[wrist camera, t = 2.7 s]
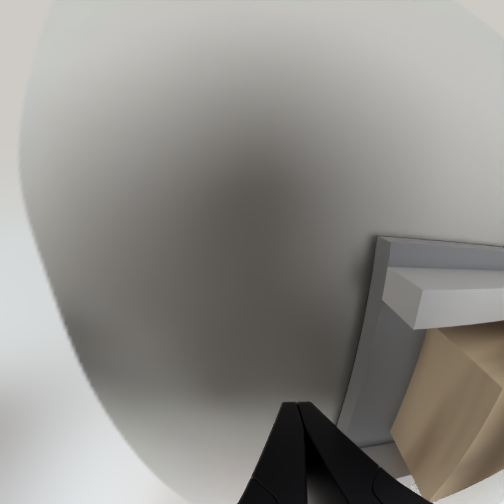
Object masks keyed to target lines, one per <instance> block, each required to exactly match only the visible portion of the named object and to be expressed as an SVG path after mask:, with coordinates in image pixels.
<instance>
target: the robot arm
mask: <svg viewBox="0 0 504 504" xmlns="http://www.w3.org/2000/svg"><path fill="white" fill-rule="evenodd" d="M237 504H433V503H431V502H429V501H428V500H426V499H424V498H423V497H421V496H420V495H418V494H416V493H415V492H413V491H412V490H410V489H409V488H407V487H406V486H404V485H403V484H401V483H400V482H399V481H398V480H396V479H395V478H394V477H392V476H391V475H390V474H389V473H388V472H386V471H385V470H384V469H383V468H382V467H379V465H378V464H377V463H376V462H375V461H374V460H372V459H371V458H370V457H369V456H368V455H367V454H366V453H365V452H364V451H362V450H361V449H360V448H359V447H358V446H357V445H356V444H355V443H354V442H353V441H351V440H350V439H349V438H348V437H347V436H346V435H345V434H344V433H343V432H342V431H341V430H340V429H338V428H337V427H336V426H335V425H334V424H333V423H332V422H331V421H330V420H329V419H328V418H327V417H326V416H325V415H324V414H323V413H322V412H321V411H320V410H319V409H318V408H317V407H316V406H314V405H313V404H312V403H311V402H297V403H296V402H283V403H282V404H281V407H280V410H279V412H278V415H277V417H276V420H275V422H274V425H273V427H272V430H271V432H270V435H269V437H268V439H267V442H266V444H265V447H264V449H263V451H262V454H261V456H260V458H259V461H258V463H257V465H256V467H255V470H254V472H253V474H252V476H251V479H250V480H249V482H248V485H247V487H246V489H245V491H244V493H243V495H242V496H241V498H240V500H239V502H238V503H237Z"/></svg>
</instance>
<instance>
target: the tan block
mask: <svg viewBox="0 0 504 504" xmlns="http://www.w3.org/2000/svg"><path fill="white" fill-rule="evenodd" d="M390 433H391V435H392V437H393V439H394V441H395V443H396V445H397V447H398V449H399V451H400V453H401V455H402V457H403V459H404V461H405V463H406V465H407V467H408V469H409V471H410V473H411V475H412V477H413V479H414V481H415V483H416V485H417V487H418V489H419V491H420V493H421V496H422V497H423V498H424V499H426V500H428V501H429V502H431V503H432V502H434V501H437V500H439V499H442V498H444V497H447V496H449V495H452V494H454V493H456V492H459V491H461V490H463V489H465V488H468V487H470V486H472V485H474V484H476V483H478V482H480V481H482V480H484V479H486V478H488V477H490V476H491V475H493V474H495V473H497V472H499V471H501V470H502V469H504V320H502V321H495V322H487V323H479V324H470V325H461V326H451V327H441V328H429V329H427V331H426V335H425V338H424V341H423V345H422V348H421V351H420V354H419V358H418V361H417V364H416V367H415V370H414V372H413V375H412V378H411V381H410V384H409V386H408V389H407V392H406V394H405V397H404V399H403V402H402V404H401V407H400V409H399V412H398V414H397V416H396V419H395V421H394V423H393V426H392V428H391V430H390Z"/></svg>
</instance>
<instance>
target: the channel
mask: <svg viewBox="0 0 504 504" xmlns="http://www.w3.org/2000/svg"><path fill="white" fill-rule="evenodd" d="M502 320H504V247H496V246H486V245H476V244H466V243H455V242H444V241H433V240H422V239H410V238H397V237H384V236H377V242H376V250H375V258H374V265H373V272H372V278H371V284H370V290H369V296H368V302H367V307H366V312H365V317H364V322H363V327H362V332H361V337H360V341H359V346H358V350H357V354H356V359H355V363H354V367H353V371H352V375H351V378H350V382H349V386H348V390H347V393H346V397H345V400H344V404H343V407H342V411H341V414H340V417H339V420H338V424H337V428H338V429H340V430H341V431H342V432H343V433H344V434H345V435H346V436H347V437H348V438H349V439H350V440H351V441H353V442H354V443H355V444H356V445H357V446H358V447H359V448H360V449H361V450H362V451H364V452H365V453H366V454H367V455H368V456H369V457H370V458H371V459H372V460H374V461H375V462H376V463H377V464H378V465H379V467H382V468H383V469H384V470H385V471H386V472H388V473H389V474H390V475H391V476H392V477H394V478H395V479H396V480H398V481H399V482H400V483H401V484H403V485H404V486H406V487H407V486H411V485H414V484H416V483H415V481H414V479H413V477H412V475H411V473H410V471H409V469H408V467H407V465H406V463H405V461H404V459H403V457H402V455H401V453H400V451H399V449H398V447H397V445H396V443H395V441H394V439H393V437H392V435H391V433H390V430H391V428H392V426H393V423H394V421H395V419H396V416H397V414H398V412H399V409H400V407H401V404H402V402H403V399H404V397H405V394H406V392H407V389H408V386H409V384H410V381H411V378H412V375H413V372H414V370H415V367H416V364H417V361H418V358H419V354H420V351H421V348H422V345H423V341H424V338H425V335H426V331H427V329H429V328H441V327H451V326H461V325H470V324H479V323H487V322H495V321H502Z"/></svg>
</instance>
